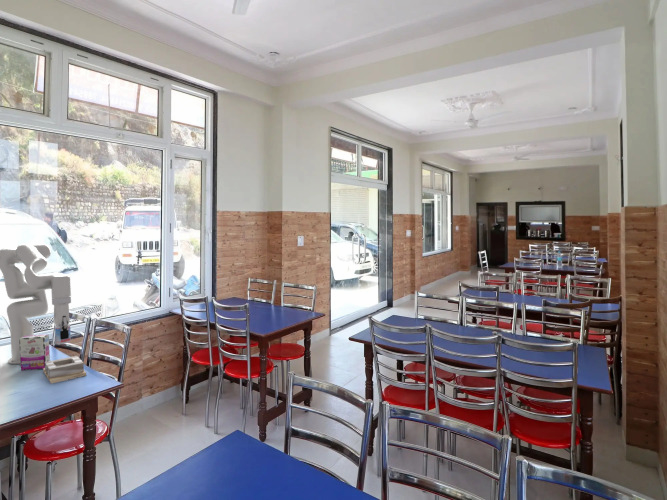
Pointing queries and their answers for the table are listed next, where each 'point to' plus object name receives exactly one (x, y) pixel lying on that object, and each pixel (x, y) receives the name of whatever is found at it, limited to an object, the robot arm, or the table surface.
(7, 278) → the robot arm
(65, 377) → the collar block
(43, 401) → the table surface
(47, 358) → the candy bar box
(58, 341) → the pill bottle
